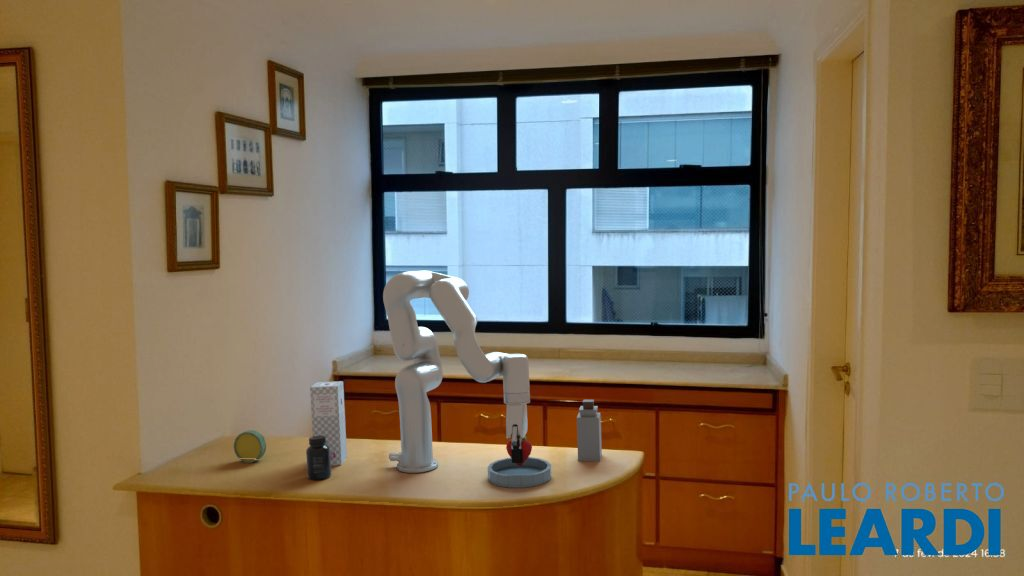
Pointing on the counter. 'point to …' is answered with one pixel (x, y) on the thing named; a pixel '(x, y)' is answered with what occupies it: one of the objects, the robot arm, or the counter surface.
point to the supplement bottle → (318, 458)
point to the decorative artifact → (249, 446)
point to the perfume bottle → (589, 432)
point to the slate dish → (519, 473)
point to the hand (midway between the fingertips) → (519, 458)
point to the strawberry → (525, 446)
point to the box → (330, 417)
